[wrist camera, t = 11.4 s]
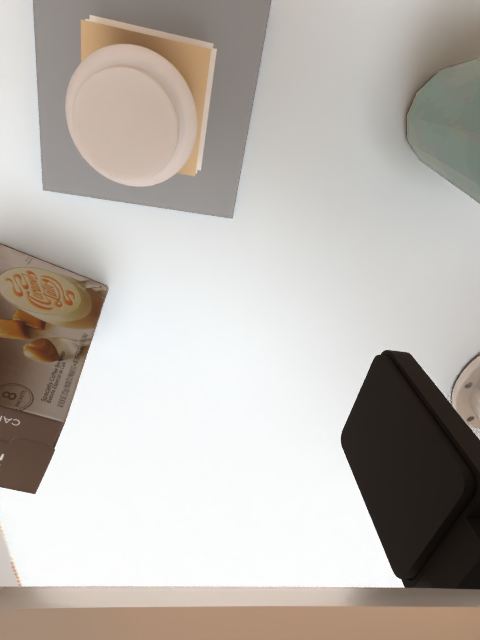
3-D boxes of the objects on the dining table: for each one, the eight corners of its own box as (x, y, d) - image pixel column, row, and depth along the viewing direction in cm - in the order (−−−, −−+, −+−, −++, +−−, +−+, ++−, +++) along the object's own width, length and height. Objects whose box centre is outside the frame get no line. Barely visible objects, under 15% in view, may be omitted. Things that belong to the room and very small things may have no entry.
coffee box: (-20, 306, 34) (-157, 460, 20) (-3, 240, 32) (-146, 366, 18) (89, 342, 37) (34, 498, 23) (113, 285, 35) (67, 422, 21)
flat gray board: (269, 0, 26) (271, -1, 25) (231, 216, 33) (232, 218, 32) (32, -61, 23) (29, -65, 23) (45, 188, 30) (42, 190, 29)
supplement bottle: (89, 52, 22) (28, 37, 14) (190, 51, 23) (194, 36, 14) (107, 159, 25) (66, 204, 17) (197, 157, 26) (203, 198, 17)
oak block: (207, 52, 26) (211, 49, 23) (193, 164, 30) (195, 176, 26) (94, 26, 25) (80, 19, 22) (94, 147, 28) (81, 157, 25)
